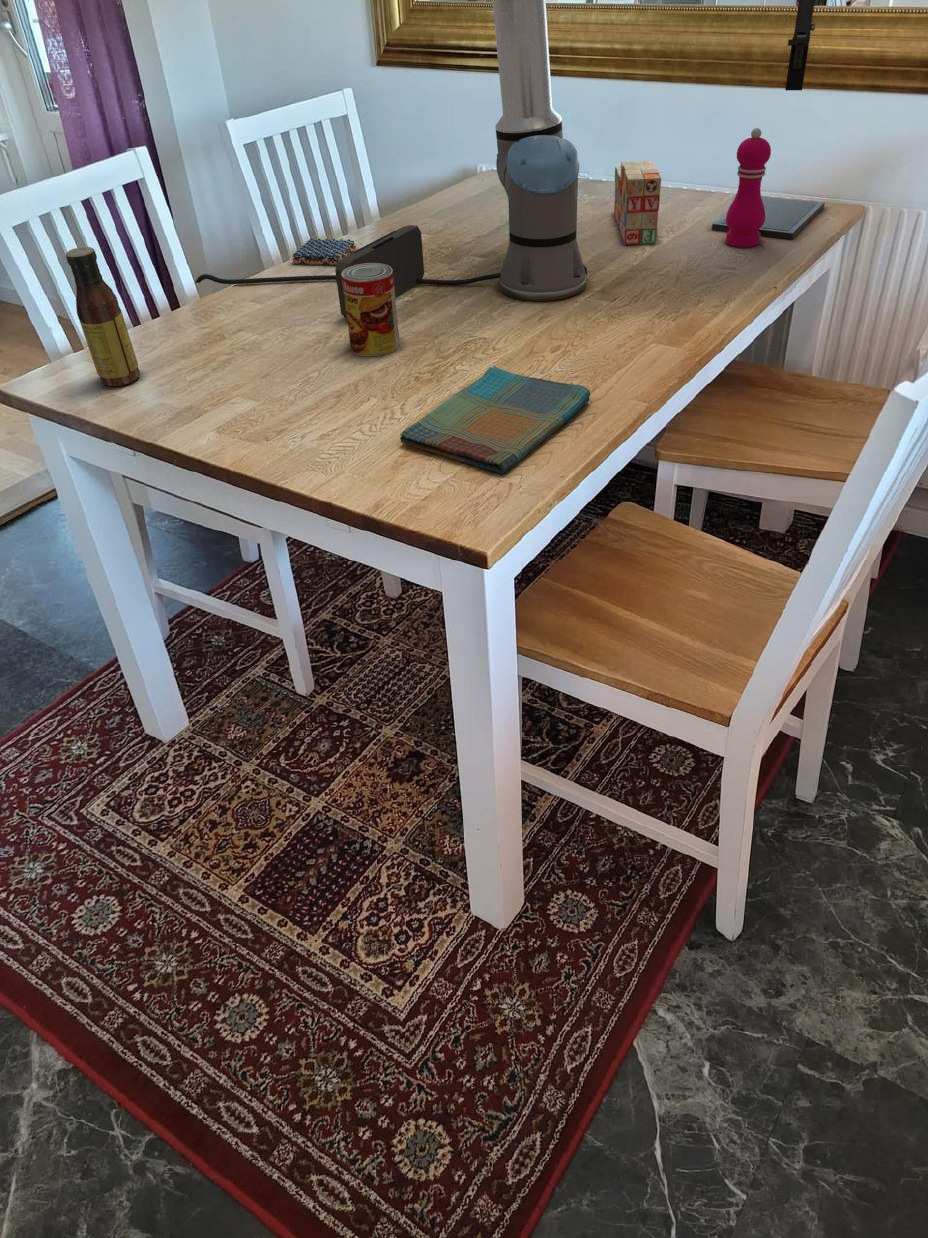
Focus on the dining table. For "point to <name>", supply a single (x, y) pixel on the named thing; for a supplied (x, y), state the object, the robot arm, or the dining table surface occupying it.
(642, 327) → the dining table surface
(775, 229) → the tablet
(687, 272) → the dining table surface
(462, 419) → the dish towel
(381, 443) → the dining table surface
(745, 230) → the pepper mill
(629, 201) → the stack of blocks
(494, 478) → the dining table surface
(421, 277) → the handheld gaming console
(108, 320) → the sauce bottle
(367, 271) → the canned food
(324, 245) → the woven mat
